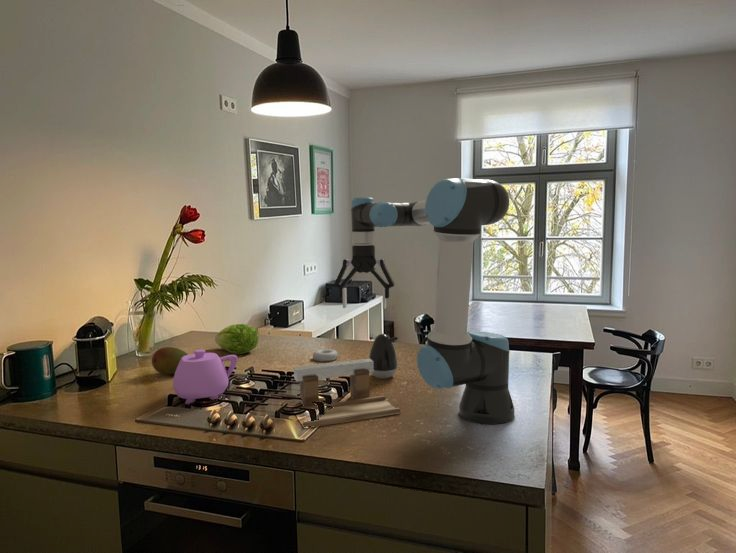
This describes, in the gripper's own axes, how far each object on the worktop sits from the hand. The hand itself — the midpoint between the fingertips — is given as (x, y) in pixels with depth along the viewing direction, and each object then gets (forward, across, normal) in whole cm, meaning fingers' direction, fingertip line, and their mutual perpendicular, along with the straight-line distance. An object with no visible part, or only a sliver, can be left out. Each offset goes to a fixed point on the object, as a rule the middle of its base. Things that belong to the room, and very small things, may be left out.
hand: (364, 307), depth 176 cm
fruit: (+25, +71, +2) cm, 76 cm away
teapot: (+25, +48, +21) cm, 58 cm away
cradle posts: (+25, +5, +21) cm, 33 cm away
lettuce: (+25, +63, -32) cm, 75 cm away
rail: (+17, +5, +21) cm, 28 cm away
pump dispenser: (+25, -5, -6) cm, 27 cm away
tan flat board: (+25, 0, +30) cm, 40 cm away
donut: (+26, +21, -26) cm, 42 cm away
